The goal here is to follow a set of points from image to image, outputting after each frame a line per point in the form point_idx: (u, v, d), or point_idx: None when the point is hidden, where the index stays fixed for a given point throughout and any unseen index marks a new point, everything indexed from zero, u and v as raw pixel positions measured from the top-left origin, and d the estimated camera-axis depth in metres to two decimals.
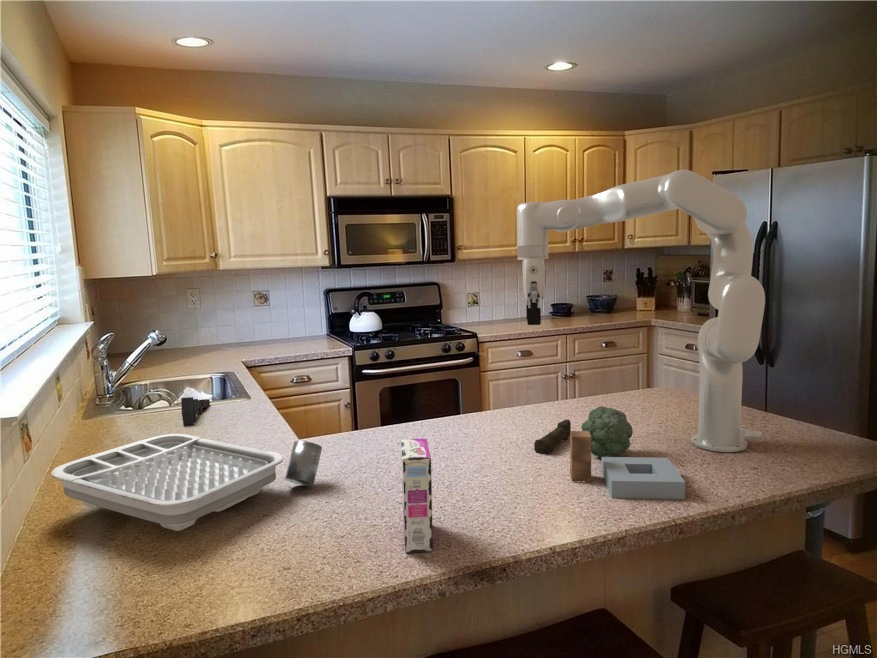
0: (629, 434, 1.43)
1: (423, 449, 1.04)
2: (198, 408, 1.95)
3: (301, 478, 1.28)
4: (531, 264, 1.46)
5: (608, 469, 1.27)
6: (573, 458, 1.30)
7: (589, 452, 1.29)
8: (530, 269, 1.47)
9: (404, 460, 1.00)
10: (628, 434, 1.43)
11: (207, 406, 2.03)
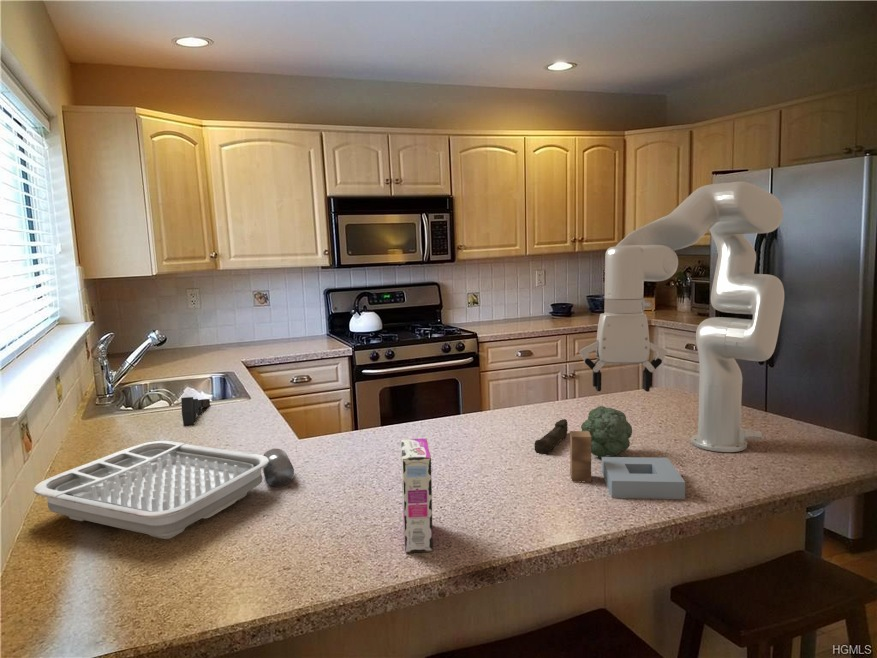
0: (629, 434, 1.44)
1: (423, 449, 1.04)
2: (198, 408, 1.95)
3: (265, 469, 1.31)
4: None
5: (608, 469, 1.27)
6: (573, 458, 1.30)
7: (589, 452, 1.29)
8: None
9: (404, 460, 1.00)
10: (628, 434, 1.44)
11: (207, 406, 2.03)
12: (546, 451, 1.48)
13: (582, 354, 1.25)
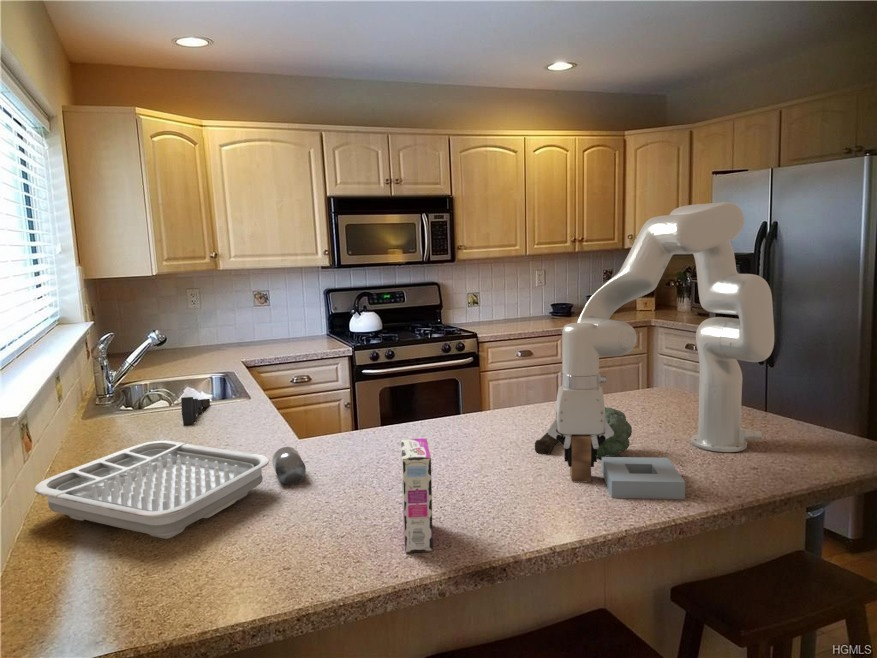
0: (628, 434, 1.44)
1: (423, 449, 1.04)
2: (198, 408, 1.95)
3: (285, 458, 1.33)
4: None
5: (608, 469, 1.27)
6: (573, 458, 1.30)
7: (589, 452, 1.29)
8: None
9: (404, 460, 1.00)
10: (627, 434, 1.44)
11: (207, 406, 2.03)
12: (546, 451, 1.48)
13: (551, 434, 1.31)
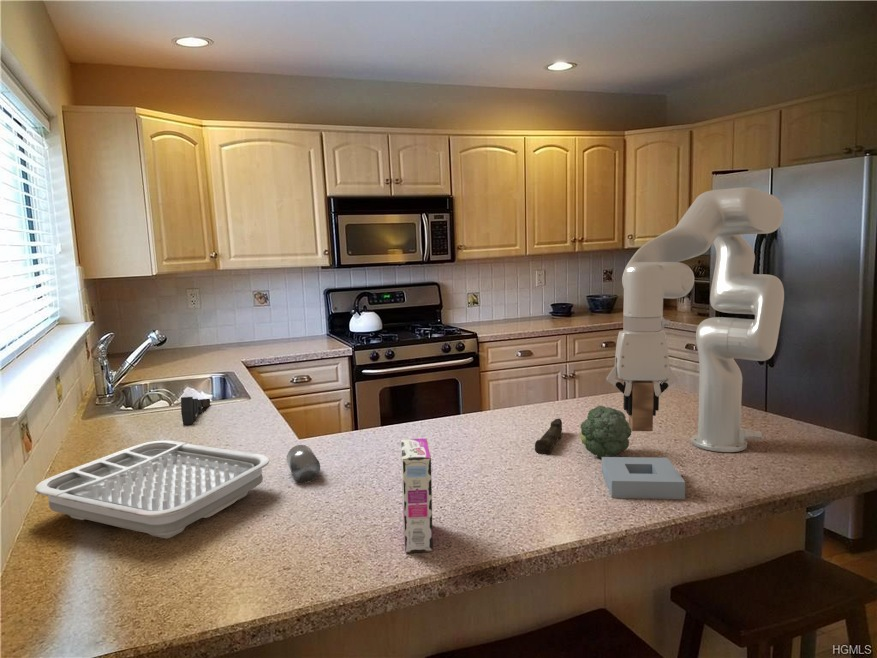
0: (628, 433, 1.44)
1: (423, 449, 1.04)
2: (198, 408, 1.95)
3: (314, 457, 1.35)
4: (666, 338, 1.22)
5: (608, 469, 1.27)
6: (634, 406, 1.23)
7: (651, 399, 1.23)
8: (662, 344, 1.23)
9: (404, 460, 1.00)
10: (627, 433, 1.44)
11: (207, 406, 2.04)
12: (547, 451, 1.48)
13: (610, 381, 1.25)
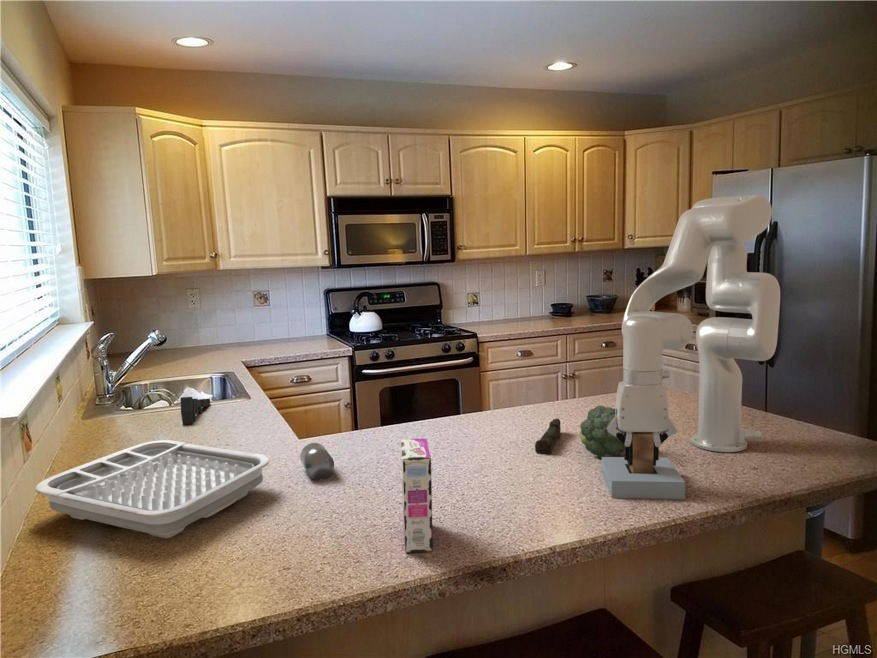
0: None
1: (423, 449, 1.04)
2: (198, 407, 1.95)
3: (333, 466, 1.37)
4: (665, 389, 1.24)
5: (608, 469, 1.27)
6: (634, 456, 1.25)
7: (651, 450, 1.24)
8: (661, 396, 1.24)
9: (404, 460, 1.00)
10: None
11: (207, 405, 2.04)
12: (547, 451, 1.48)
13: (610, 432, 1.26)
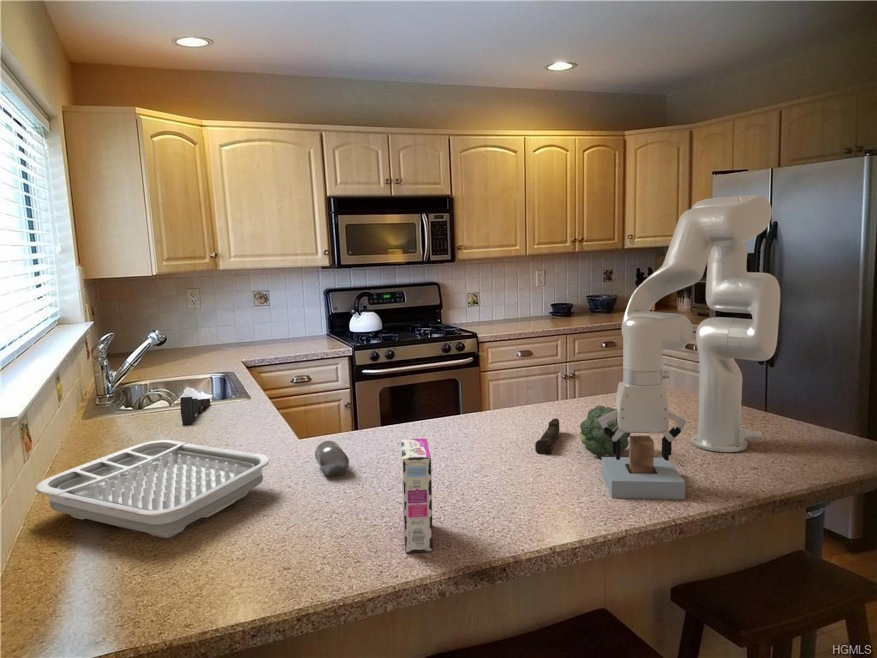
0: (628, 433, 1.44)
1: (423, 449, 1.04)
2: (198, 407, 1.95)
3: (339, 475, 1.38)
4: None
5: (608, 469, 1.27)
6: (635, 464, 1.25)
7: (651, 457, 1.25)
8: (661, 396, 1.24)
9: (404, 460, 1.00)
10: (627, 433, 1.44)
11: (207, 405, 2.04)
12: (547, 451, 1.48)
13: (601, 423, 1.26)
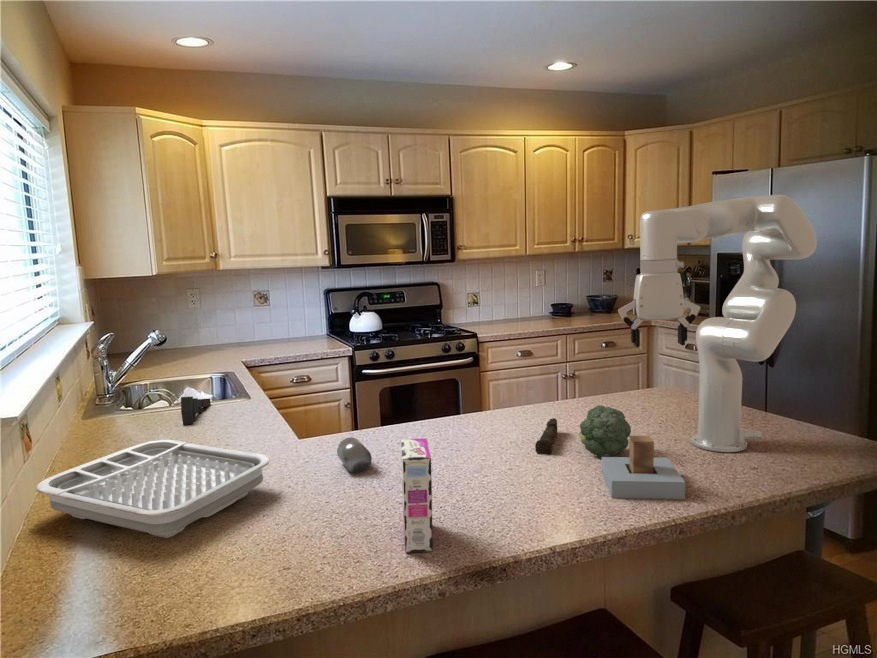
0: (627, 433, 1.44)
1: (423, 449, 1.04)
2: (198, 407, 1.96)
3: (345, 463, 1.38)
4: None
5: (608, 469, 1.27)
6: (635, 464, 1.25)
7: (651, 457, 1.25)
8: None
9: (404, 460, 1.00)
10: (626, 433, 1.44)
11: (208, 405, 2.04)
12: (548, 451, 1.48)
13: (621, 313, 1.35)
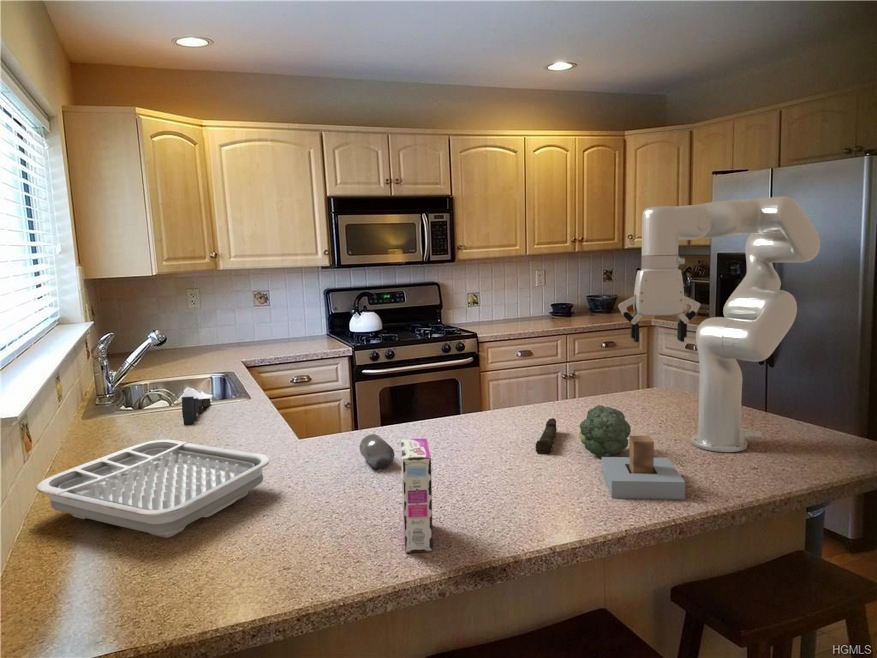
0: (627, 433, 1.44)
1: (423, 449, 1.04)
2: (199, 407, 1.96)
3: (382, 443, 1.41)
4: None
5: (608, 469, 1.27)
6: (635, 464, 1.25)
7: (651, 457, 1.25)
8: None
9: (404, 460, 1.00)
10: (626, 433, 1.44)
11: (208, 405, 2.04)
12: (548, 451, 1.48)
13: (621, 308, 1.35)
